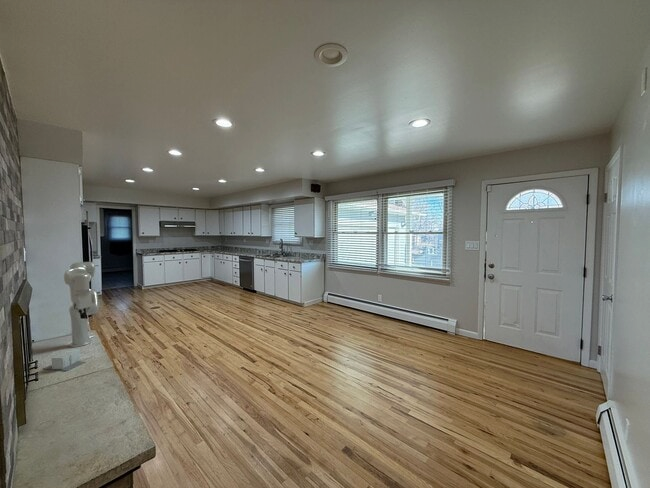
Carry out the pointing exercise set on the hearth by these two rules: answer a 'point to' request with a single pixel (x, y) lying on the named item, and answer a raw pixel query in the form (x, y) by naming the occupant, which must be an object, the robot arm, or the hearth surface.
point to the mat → (66, 367)
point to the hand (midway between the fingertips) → (83, 318)
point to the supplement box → (65, 359)
